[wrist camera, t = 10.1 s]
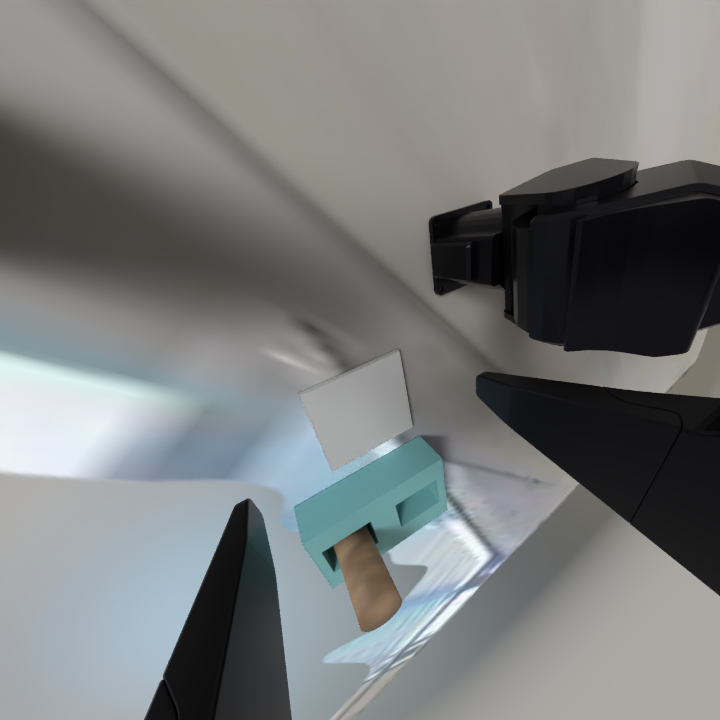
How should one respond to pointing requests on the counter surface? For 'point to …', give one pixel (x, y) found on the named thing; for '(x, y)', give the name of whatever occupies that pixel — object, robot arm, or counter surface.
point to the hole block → (374, 504)
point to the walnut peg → (367, 580)
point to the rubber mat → (359, 409)
